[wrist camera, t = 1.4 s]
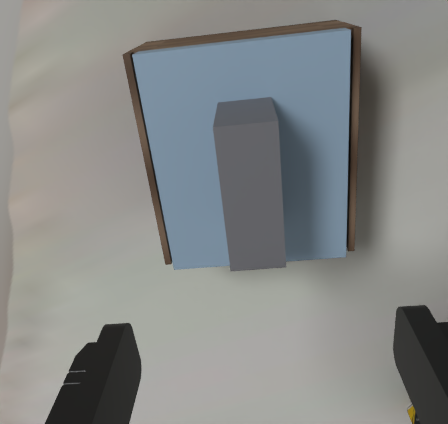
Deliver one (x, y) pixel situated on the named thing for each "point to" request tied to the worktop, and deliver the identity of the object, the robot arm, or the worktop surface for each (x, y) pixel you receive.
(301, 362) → the worktop surface
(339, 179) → the cover plate
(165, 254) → the wooden box
